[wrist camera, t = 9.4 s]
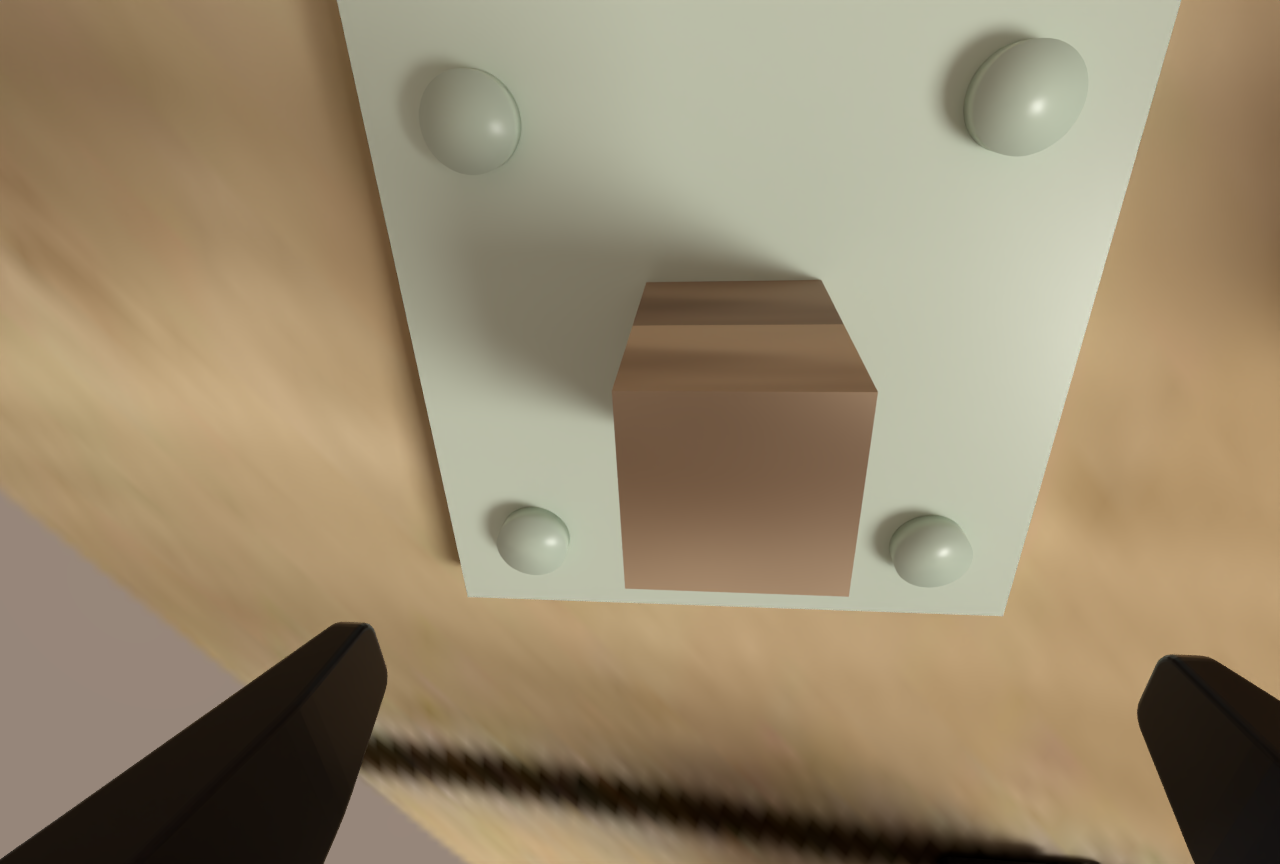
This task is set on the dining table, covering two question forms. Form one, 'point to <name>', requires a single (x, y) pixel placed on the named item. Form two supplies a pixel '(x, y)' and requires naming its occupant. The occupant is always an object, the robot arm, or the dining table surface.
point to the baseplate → (752, 246)
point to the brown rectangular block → (741, 439)
